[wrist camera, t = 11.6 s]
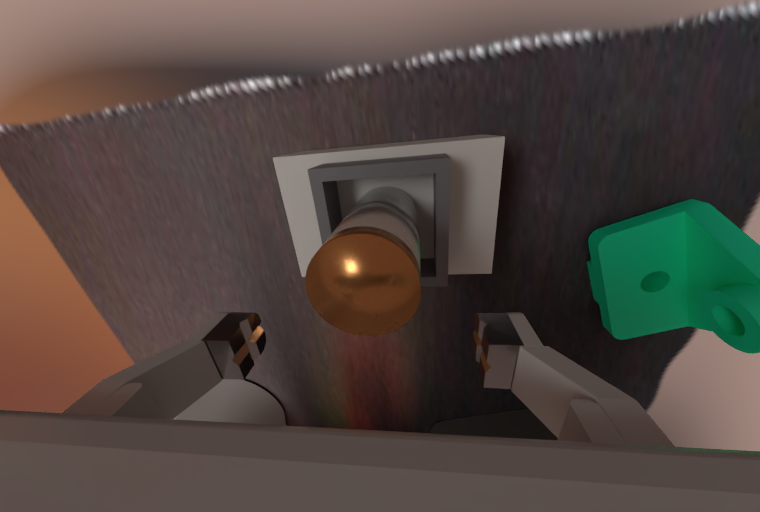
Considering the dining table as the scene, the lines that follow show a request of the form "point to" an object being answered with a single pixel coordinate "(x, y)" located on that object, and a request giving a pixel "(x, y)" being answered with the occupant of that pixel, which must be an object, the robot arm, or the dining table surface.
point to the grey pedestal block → (415, 177)
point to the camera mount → (677, 275)
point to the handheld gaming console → (497, 426)
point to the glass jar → (369, 266)
